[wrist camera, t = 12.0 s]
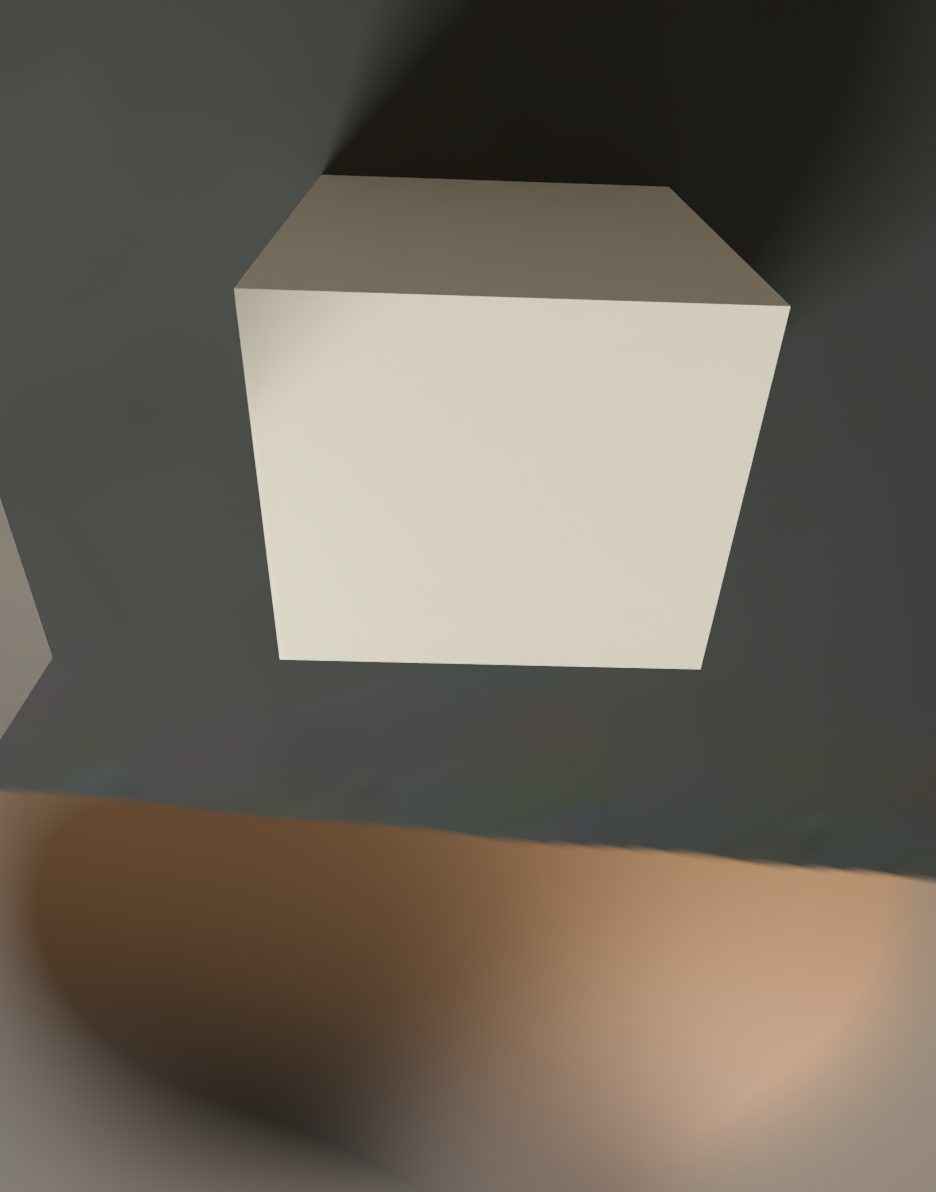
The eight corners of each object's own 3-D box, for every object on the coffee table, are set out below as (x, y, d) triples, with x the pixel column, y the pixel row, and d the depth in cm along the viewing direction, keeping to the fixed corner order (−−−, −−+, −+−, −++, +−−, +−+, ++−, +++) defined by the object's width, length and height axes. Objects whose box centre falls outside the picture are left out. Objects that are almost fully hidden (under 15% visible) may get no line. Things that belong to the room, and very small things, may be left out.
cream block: (338, 447, 21) (279, 659, 14) (321, 174, 17) (233, 288, 11) (627, 455, 21) (700, 669, 14) (668, 186, 17) (790, 307, 11)
